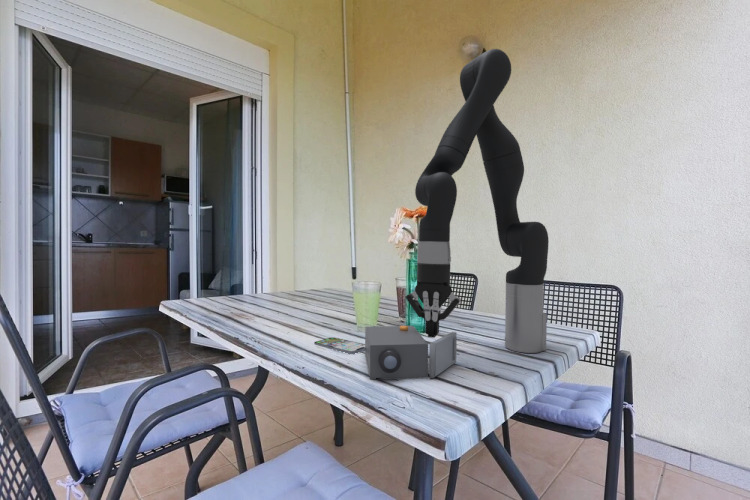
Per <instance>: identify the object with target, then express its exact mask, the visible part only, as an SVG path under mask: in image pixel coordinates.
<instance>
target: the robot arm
mask: <svg viewBox="0 0 750 500" xmlns="http://www.w3.org/2000/svg"><path fill="white" fill-rule="evenodd" d="M511 75H512V63H511V60H510V58H509V56H508V55H507V53H506V52H505V51H503V50H502V49H499V48H492V49H489V50H485V52H482V53H481V54H480V55H478V56H476V57H475V58H474V59H472V60H471V61H469V62H467V63H466V64H465V65H464V66H462V69H461V71H460V74H459V83H460V84H459V85H460V89H461V92H462V96H463V98H464V104H463V105H462V106H461V108H460V109H459V111H458V112H457V113H456V115H455V116H454V117H453V118H452V120H451V121H450V123H449V124H448V126H447V127H446V129H445V131H444V133H443V134H442V136H441V139H440V141H439V143H438V146H437V147H436V150H435V153H434V154H433V156H432V158H431V160H430V161H429V163H428V164H427V165H426V167H425V168H424V170H423V171H422V173H421V174H420V176H419V178H418V180H417V183H416V185H415V188H414V191H415V192H414V194H415V198H416V200H417V202H418V203H419V204H420V205H422V206H424V207H426V213H425V215H424V216H422V217H421V219H420V220H419V224H418V225H419V226H418V245H417V246H418V248H417V253H416V255H417V258H416V259H417V261H416V262H417V263H416V265H417V268H416V284H415V287H414V291H412V292H411V293H409V294H407V295H405V298H406V300H407V302H408V304H410V306H411V308H412V309H413V311H414V313H416V315H417V317H419V318H422V319H424V321H425V334H426V335H427V338H436V337H437V335H439V332H440V321H441V320H442V321H443V320H445V319H447V318H448V317H449V315H450V314H451V313H452V312H453V311H454V309H456V307H457V306H458V305H459V304H460V303H461V302H462V299H461V298H460V297H459V296H458V297H457V296H456V294H455V293H453V289H452V287H451V262H452V257H451V255H452V253H451V244H450V241H451V239H450V238H451V221H452V218H453V214H454V210H455V206H456V202H457V196H458V195H457V194H458V188H457V183H456V181H455V179H454V177H453V175H454V174H455V173H456V172H458V171H459V170H460V169H461V168H462V167H463V165H464V164H465V161H466V159H467V157H468V154H469V151H470V150H471V147H472V144H473V143H474V140H475V138H476V139H477V142H478V145H479V149H480V153H481V154H480V155H481V159H482V162H483V168H484V172H485V175H486V178H487V181H488V186H489V190H490V193H491V199H492V203H493V208H494V209H493V210H494V214H495V223H496V229H497V236H498V241H499V246H500V247H501V250H502V251H503V252H504V254H506V255H507V256H509V257H513V258H516V257H517V258H520V262H519V264H518V265H517V267H515V268H513V269H511V270H509V271H507V272H506V274H505V316H504V317H505V319H504V325H505V326H504V346H505V349H508V350H511V351H513V352H517V353H518V352H519V353H525V354H528V353H529V354H536V353H541V352H543V351H547V331H548V330H547V329H548V327H547V325H548V324H547V322H548V319H547V318H548V315H547V313H545V312H544V300H545V299H544V294H545V293H544V292H545V291H544V289H545V288H544V287H545V285H544V283H545V282H544V281H545V277H546V274H547V271H548V258H549V257H548V256H549V255H548V254H549V233H548V230H547V228H546V226H545V225H544V224H543V223H542V222H540V221H522V222H521V221H520V217H519V213H518V207H517V206H518V204H517V200H518V195H519V193H520V189H521V186H522V182H523V179H524V176H525V166H524V165H525V163H524V160H523V156H522V150H521V147H520V143H519V142H518V140H517V138H516V137H515V136H514V135H513V133H512V132H511V131H510V130H509V128H508V127H506V125H505V124H504V123H503V122H502V121H501V119H500V118H499V116H498V114H497V112H496V108H495V106H494V105H495V103H496V101H497V99H498V98H499V96H500V95H501V93H502V92H503V91H504V89H505V88H506V86H507V85H508V82H509V81H510V78H511ZM448 299H449V300H448ZM419 300H420V301H421V303H422V304H423V306H422V305H421V303H420V301H419ZM447 300H448V304H449V305H448V306H446V308H445V309H444V310H443V312H442V311H441V310H442V306H443V305H444V304H445V303H446V302H447ZM441 312H442V313H441Z"/></svg>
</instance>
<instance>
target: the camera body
mask: <svg viewBox="0 0 750 500" xmlns="http://www.w3.org/2000/svg"><path fill="white" fill-rule="evenodd" d="M364 329H365V331H364V335H365V336H364V337H365V342H364V344H365V351H364V355H365V360H366V366H367V372H368V376H370V377H369V380H377V379H376V378H400V379H420V378H419V377H428V378H429V343H428V342H427V341H426V339H424V337H423V336H422V334H421V333H420V332H419V331H418V330H417V328H416V327H415V326H414V325H391V326H390V325H384V326H381V325H380V326H379V325H377V326H365V328H364Z"/></svg>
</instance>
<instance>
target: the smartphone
mask: <svg viewBox="0 0 750 500" xmlns="http://www.w3.org/2000/svg"><path fill="white" fill-rule="evenodd" d="M313 343H314V345H315V346H320V347H323V348H325V349H329V350H332V349H333V351H336V350H337V352H339V351H341V353H343V352H345V353H344V354H346V353H348V354H347V355H350V354H353V355H356V354H355V353H357V354H359V353H358V352H360V353H362V352H361V351H363V352H365V343H362V342H361V343H360V342H358V341H354V340H353V341H352V340H348V339H342V338H338V337H328V338H323V339H321V340H317V341H314V342H313Z"/></svg>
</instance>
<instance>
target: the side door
mask: <svg viewBox="0 0 750 500" xmlns="http://www.w3.org/2000/svg"><path fill="white" fill-rule="evenodd" d="M457 334H458V333H457V332H456V331H452V332H449V333H447V334H446V335H443V336H442V337H440V338H438V339H435V340H433V341H432V342H430V343H429V358H428V378H432V379H433V378H436V377H437V376H438V375H439V374H441V373H442V372H444V371H445V370H446V369H448V368H449V367H451V366H452V365H454V364H455V363H457V352H458V351H457V345H458V344H457Z"/></svg>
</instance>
